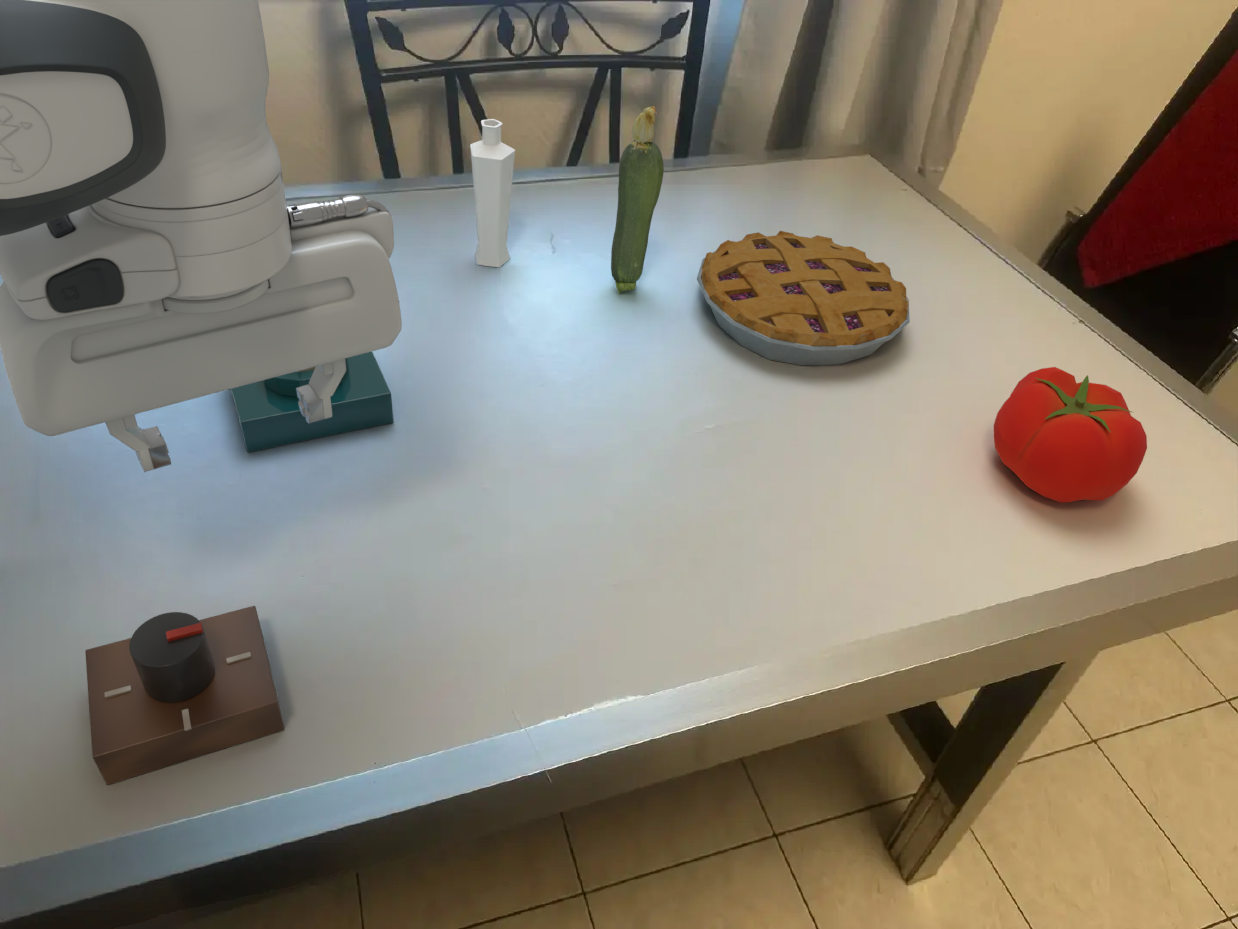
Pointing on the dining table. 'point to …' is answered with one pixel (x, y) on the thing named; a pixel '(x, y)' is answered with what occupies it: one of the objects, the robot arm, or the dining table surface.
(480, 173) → the perfume bottle
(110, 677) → the dial panel
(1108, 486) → the tomato
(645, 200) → the vegetable
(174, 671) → the dial
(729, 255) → the pie
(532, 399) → the dining table surface
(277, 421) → the teal push button box
